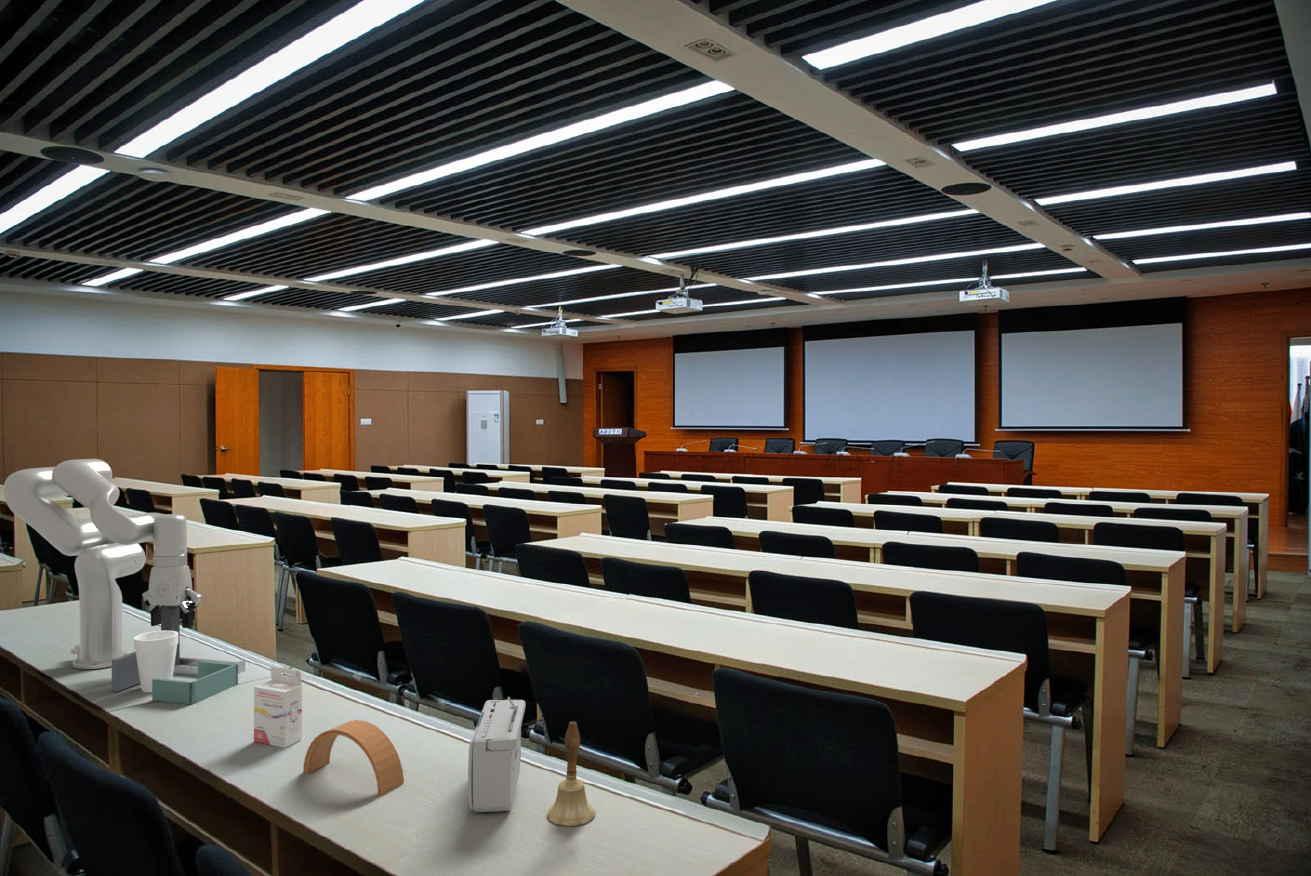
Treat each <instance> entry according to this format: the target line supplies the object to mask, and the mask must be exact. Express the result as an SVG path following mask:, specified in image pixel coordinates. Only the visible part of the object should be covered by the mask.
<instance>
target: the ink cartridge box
mask: <svg viewBox="0 0 1311 876" xmlns="http://www.w3.org/2000/svg"><path fill="white" fill-rule="evenodd" d="M285 673H286V674H287V675H290V676H285V675H284V676H283V675H282V674H285ZM270 678H271V679H270V680H267V681H266V682H265V681H264V682H263V683H261V684H258V685H255V686H254V687H253V689H254V690H253V691H254V692H253V742H254V743H258V744H259V743H260V744H264V745H268V746H273V747H277V748H283V749H285V748H288V747H290V746H292V745H293V744H296V743H298V742H300V741H301V740H302V735H303V733H302V729H303V720H302V719H303V711H302V710H303V686H302V673H301V671H300V670H298V669H297V670H296V669H290V668H286V667H277V666H271V667H270Z"/></svg>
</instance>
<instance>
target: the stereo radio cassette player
mask: <svg viewBox="0 0 1311 876" xmlns="http://www.w3.org/2000/svg"><path fill="white" fill-rule="evenodd" d="M525 710H526V701H525V700H523V699H511V697H510V696H508V697H507V699H503V700H501V699H500V700H499V699H489V700H488V699H487V700H486V701H485V703H484V705H483V708H482V710H481V713H480V715H479V719H478V721H477V724H476V726H475V729H474V732H473V734H472V736H471V740H470V743H469V748H468V763H467V765H468V766H467V792H468V793H467V794H468V805H469V808H470V810H472V811H474V812H475V813H478V814H479V813H486V812H487V813H491V812H492V813H493V812H509V811H511V809H512V806H513V800H514V795H515V791H516V786H517V783H518V782H517V781H518V777H519V772H520V767H521V757H522V756H521V755H522V752H521V751H522V747H521V745H522V741H521V740H522V723H523V719H524V715H525Z"/></svg>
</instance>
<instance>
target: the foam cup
mask: <svg viewBox="0 0 1311 876" xmlns="http://www.w3.org/2000/svg"><path fill="white" fill-rule="evenodd" d="M177 644H178V632H176V631H161V630H155V631H154V630H153V631H149V632H144V633H143V632H142V633H141V634H140V633H139V634H137V635H135V636H134V637H133V649H134V652H136V658H137V664H138V671H139V677H140V683H139V684H140V689H141V692H144V693H152V679H154V678H158V679H168V680H173V677H174V673H173V671H174V664H175V657H176V650H177Z"/></svg>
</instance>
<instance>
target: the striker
mask: <svg viewBox="0 0 1311 876" xmlns="http://www.w3.org/2000/svg"><path fill="white" fill-rule="evenodd" d="M161 607H162V608H160V609H161V624H160V631H176V632H178V644H177V650H176V657H175V665H180V657H181V655H180V652H181V651H180V648H181V647H180V645H181V644H180V643H181V642H180V637H181V636H180V633H181V632H180V631H181V630H180V629H181V628H180V627H181V626H180V624H181V623H180V622H181V620H180V615H181V612H180V611H181V610H180V608H181V607H180V606H161ZM138 684H140V677H139V671H138V664H137V658H136V651H134V652H130V653H127V655H124V656H121V657H118V658H115V659H112V666H111V692H120V691H122V690H125V689H128V688H131V687H133V686H137V685H138Z"/></svg>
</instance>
